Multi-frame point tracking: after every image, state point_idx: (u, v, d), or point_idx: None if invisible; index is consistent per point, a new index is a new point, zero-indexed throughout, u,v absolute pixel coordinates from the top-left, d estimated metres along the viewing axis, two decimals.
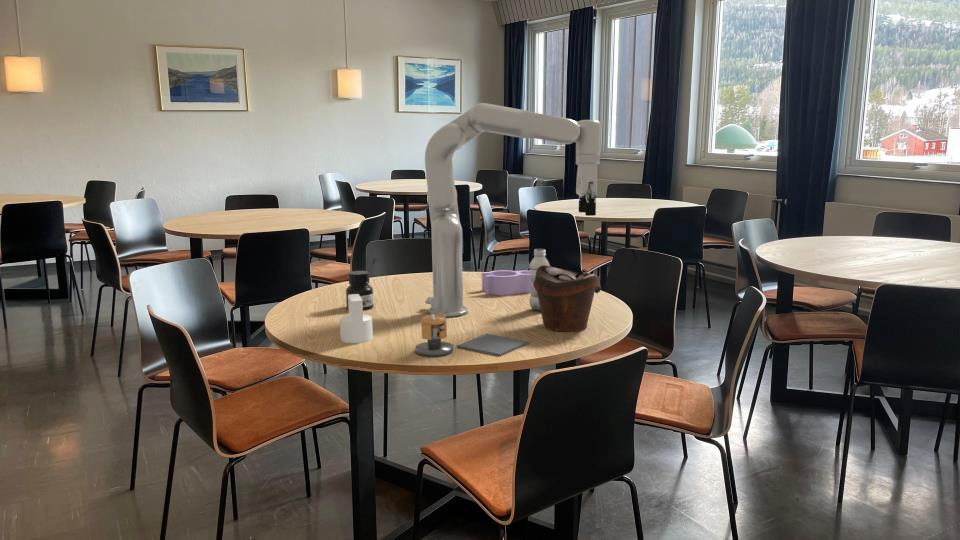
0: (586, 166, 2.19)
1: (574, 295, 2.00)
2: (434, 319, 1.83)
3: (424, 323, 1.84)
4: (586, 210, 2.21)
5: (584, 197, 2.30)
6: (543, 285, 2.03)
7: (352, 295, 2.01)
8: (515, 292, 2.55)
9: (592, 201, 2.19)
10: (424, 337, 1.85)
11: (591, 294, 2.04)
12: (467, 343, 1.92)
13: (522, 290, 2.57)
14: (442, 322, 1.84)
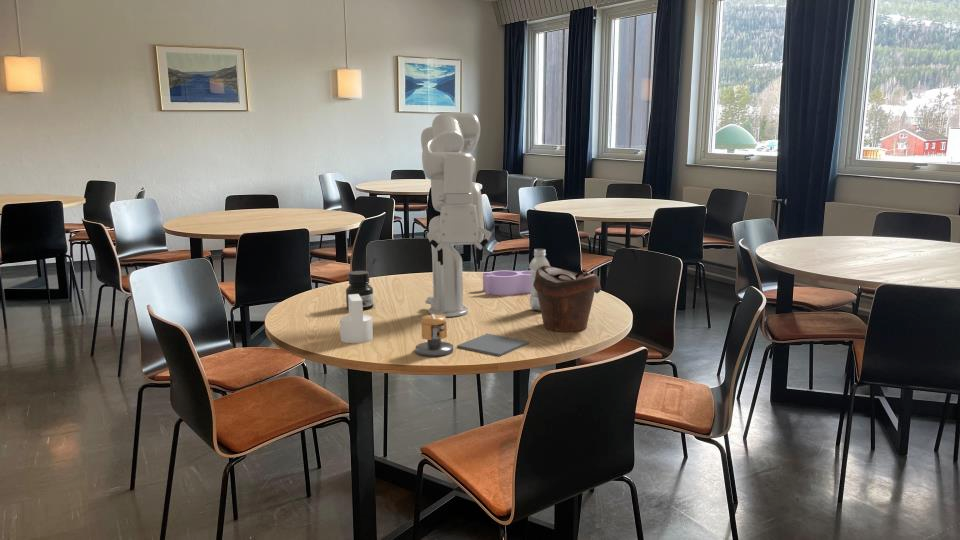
0: (475, 207, 1.86)
1: (574, 295, 2.00)
2: (434, 319, 1.83)
3: (424, 323, 1.84)
4: (478, 258, 1.88)
5: None
6: (543, 285, 2.03)
7: (352, 295, 2.01)
8: (515, 292, 2.54)
9: None
10: (424, 337, 1.85)
11: (591, 294, 2.04)
12: (467, 343, 1.92)
13: (523, 290, 2.56)
14: (442, 322, 1.84)
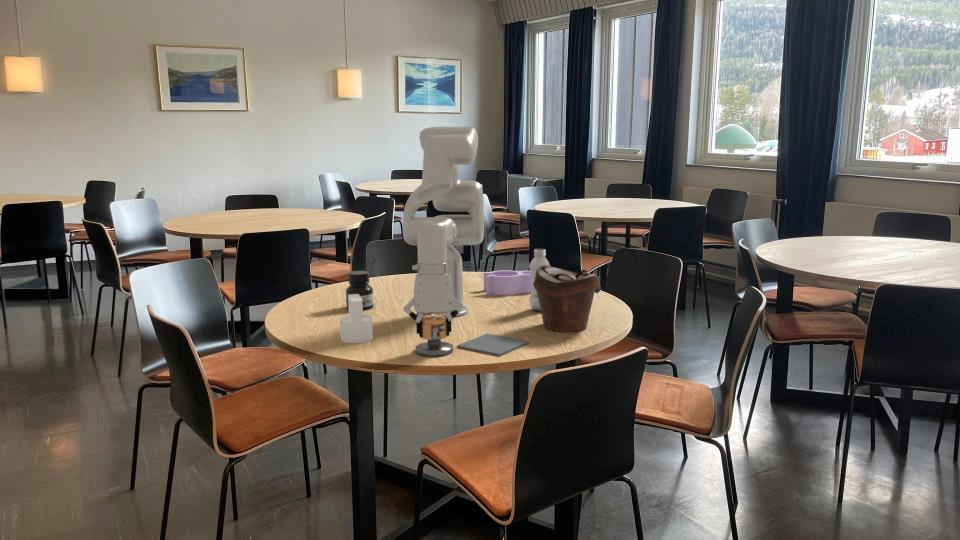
0: (450, 276, 1.83)
1: (574, 295, 2.00)
2: (434, 319, 1.83)
3: (424, 323, 1.84)
4: (448, 330, 1.86)
5: None
6: (543, 285, 2.03)
7: (352, 295, 2.01)
8: (516, 292, 2.54)
9: None
10: (424, 337, 1.85)
11: (591, 294, 2.04)
12: (467, 343, 1.92)
13: (523, 290, 2.56)
14: (442, 322, 1.84)
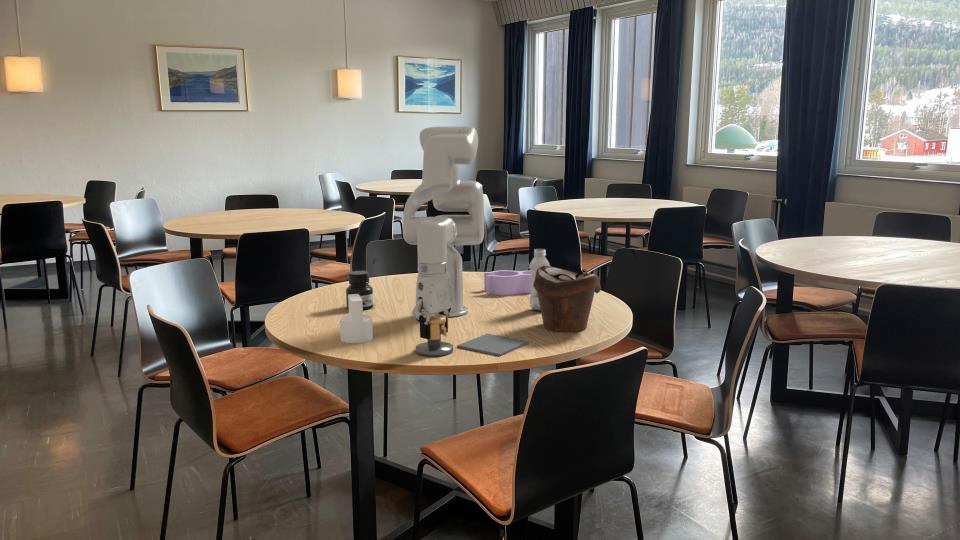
0: None
1: (574, 295, 2.00)
2: (441, 318, 1.85)
3: (432, 323, 1.83)
4: None
5: None
6: (543, 285, 2.03)
7: (352, 295, 2.01)
8: (516, 292, 2.54)
9: None
10: (432, 338, 1.84)
11: (591, 294, 2.04)
12: (467, 343, 1.92)
13: (524, 290, 2.56)
14: (445, 319, 1.86)
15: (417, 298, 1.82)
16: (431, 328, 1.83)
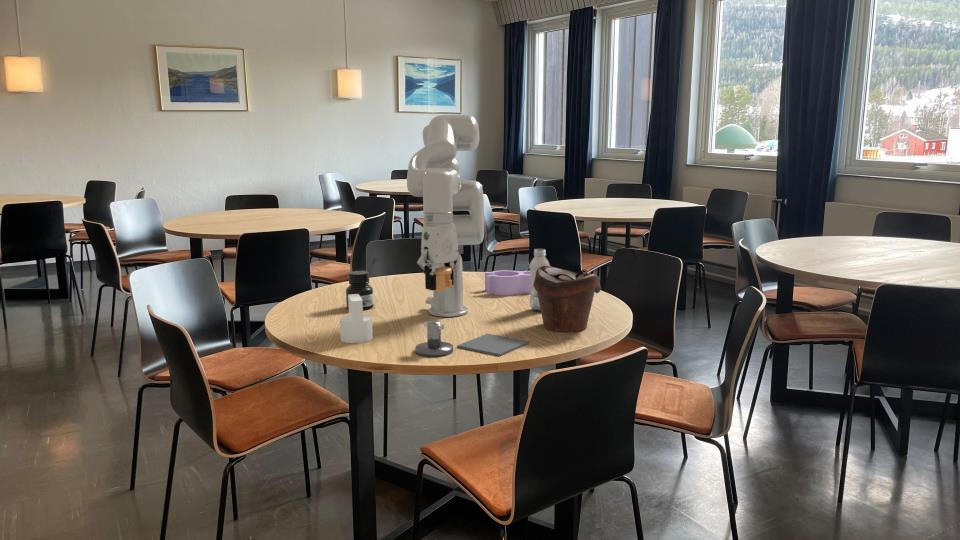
0: None
1: (574, 295, 2.00)
2: (446, 269, 1.83)
3: (438, 274, 1.81)
4: None
5: None
6: (543, 285, 2.03)
7: (352, 295, 2.01)
8: (516, 292, 2.54)
9: None
10: (438, 289, 1.82)
11: (591, 294, 2.04)
12: (467, 343, 1.92)
13: (524, 290, 2.56)
14: (451, 271, 1.85)
15: (423, 248, 1.80)
16: (437, 279, 1.81)
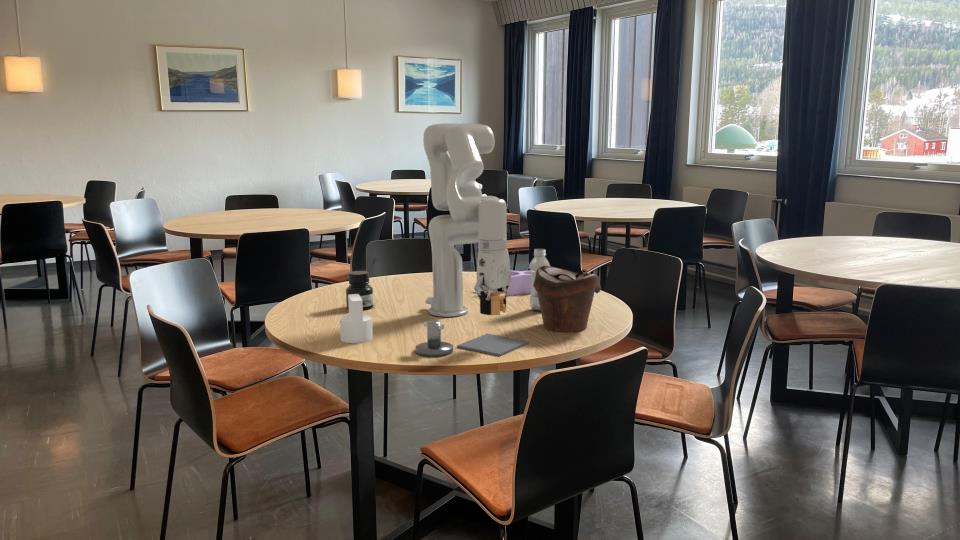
0: None
1: (574, 295, 2.00)
2: (501, 294, 1.88)
3: (493, 299, 1.86)
4: None
5: None
6: (543, 285, 2.03)
7: (352, 295, 2.01)
8: (517, 292, 2.54)
9: None
10: (493, 313, 1.87)
11: (591, 294, 2.04)
12: (467, 343, 1.92)
13: (525, 290, 2.56)
14: None
15: (478, 274, 1.85)
16: (492, 304, 1.87)
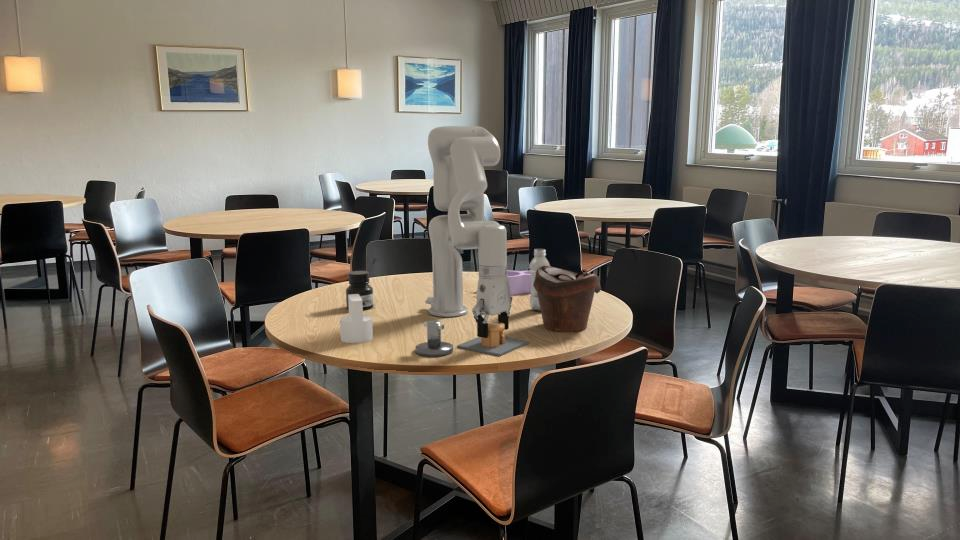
0: None
1: (574, 295, 2.00)
2: (500, 325, 1.90)
3: (492, 331, 1.88)
4: None
5: None
6: (543, 285, 2.03)
7: (352, 295, 2.01)
8: (518, 292, 2.54)
9: None
10: (492, 345, 1.89)
11: (591, 294, 2.04)
12: (467, 343, 1.92)
13: (526, 290, 2.56)
14: (504, 327, 1.92)
15: (478, 300, 1.87)
16: (491, 335, 1.88)
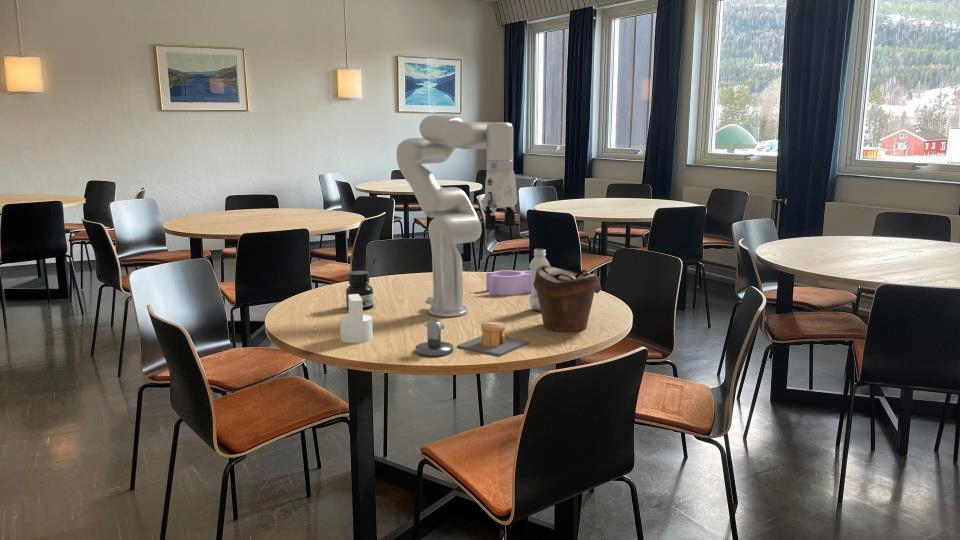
0: None
1: (574, 295, 2.00)
2: (500, 325, 1.90)
3: (492, 331, 1.88)
4: None
5: None
6: (543, 285, 2.03)
7: (352, 295, 2.01)
8: (519, 292, 2.54)
9: None
10: (492, 345, 1.89)
11: (591, 294, 2.04)
12: (467, 343, 1.92)
13: (527, 290, 2.56)
14: (504, 327, 1.92)
15: (486, 193, 1.97)
16: (491, 335, 1.88)
